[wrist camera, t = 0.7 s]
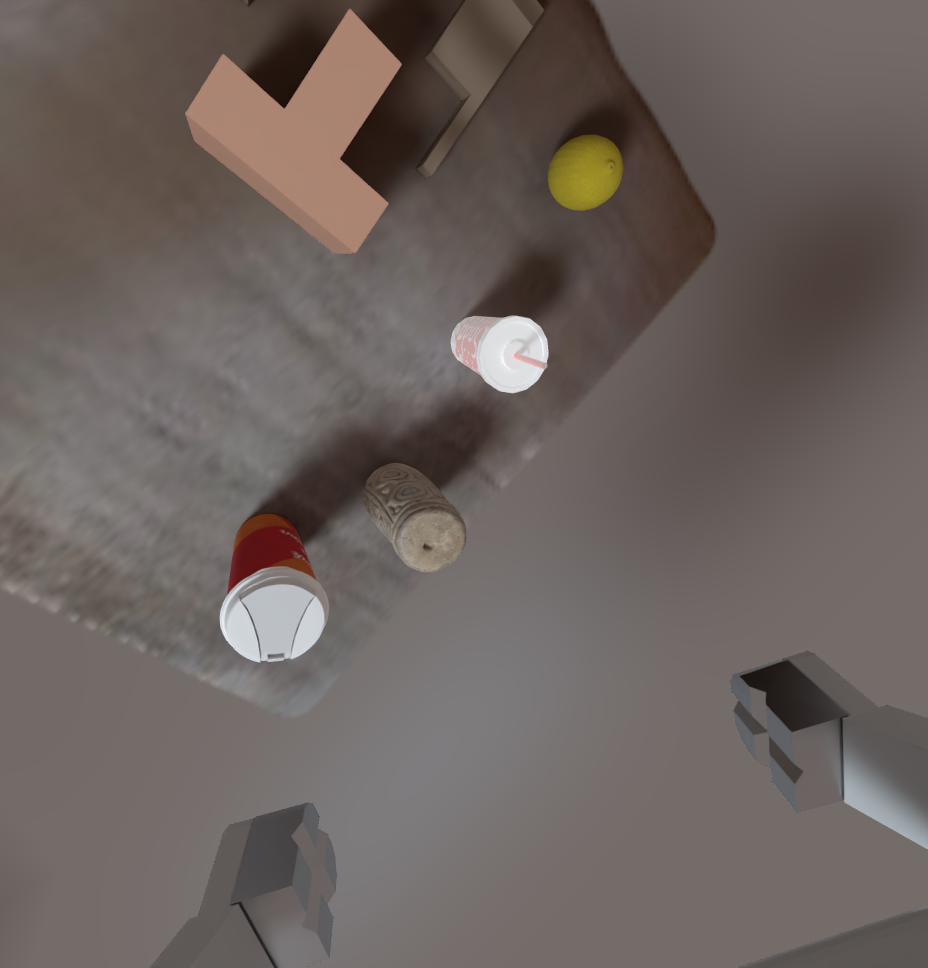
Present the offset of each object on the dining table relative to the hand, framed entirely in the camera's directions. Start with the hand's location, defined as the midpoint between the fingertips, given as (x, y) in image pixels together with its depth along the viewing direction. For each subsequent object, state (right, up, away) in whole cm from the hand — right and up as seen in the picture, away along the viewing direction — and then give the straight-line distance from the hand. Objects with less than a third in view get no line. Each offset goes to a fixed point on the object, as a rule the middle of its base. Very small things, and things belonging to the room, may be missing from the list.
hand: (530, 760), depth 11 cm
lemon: (+7, +33, +41) cm, 53 cm away
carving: (-8, +5, +46) cm, 47 cm away
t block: (-13, +31, +33) cm, 47 cm away
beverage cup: (0, +19, +43) cm, 47 cm away
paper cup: (-20, 0, +43) cm, 47 cm away
